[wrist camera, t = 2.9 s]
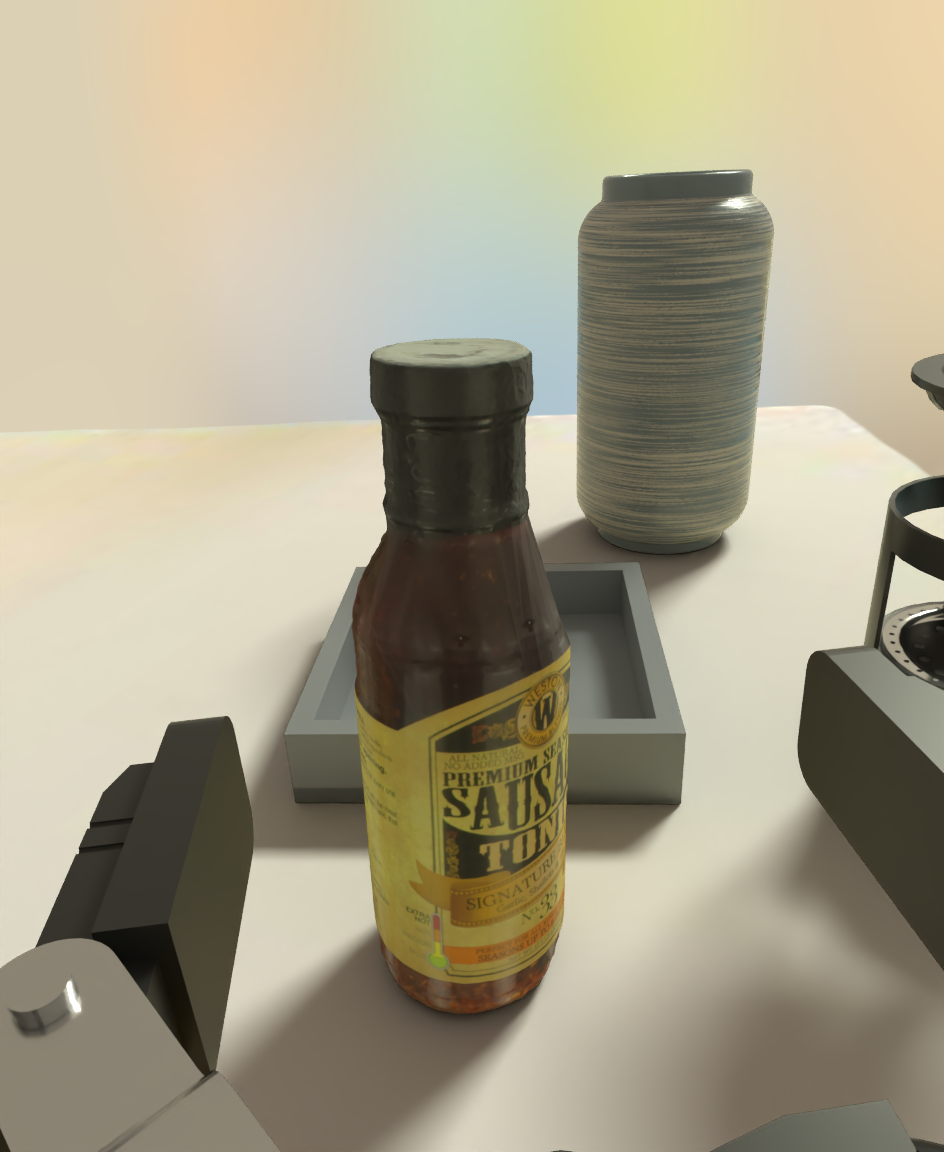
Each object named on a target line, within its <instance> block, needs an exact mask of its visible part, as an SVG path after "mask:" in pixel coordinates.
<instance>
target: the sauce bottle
mask: <svg viewBox="0 0 944 1152" xmlns="http://www.w3.org/2000/svg"><path fill="white" fill-rule="evenodd" d="M370 377H371V378H370V381H371V384H370V395H371V396H370V397H371V403H372V404H373V406H374V408H375V410H376V412H377V413H378V415H379V417H380V419H381V424H382V437H383V438H382V442H383V466H384V470H385V483H384V484H385V488H386V494H385V497H384V500H383V507H384V511H385V514H386V520H387V531H386V533H385V534H383V536H382V538H381V542H380V544H379V547H378V548H377V549H376V551H375V553H374V554H373V556H372V557H371V560H370V562H369V564H368V565H367V567H366V568H365V570H364V572H363V574H362V578H361V579H360V581H359V585H358V587H357V593H356V597H355V601H354V604H353V609H352V618H353V621H352V626H351V627H352V631H353V639H354V647H355V654H356V669H357V676H356V680H355V687H354V692H355V701H356V712H357V723H358V734H359V745H360V756H361V767H362V777H363V788H364V800H365V811H366V823H367V835H368V847H369V858H370V869H371V880H372V890H373V902H374V910H375V919H376V924H377V928H378V931H379V934H380V942H381V950H382V954H383V956H384V958H385V960H386V964H387V965H388V967H389V970H390V972H391V973H392V975H393V977H394V979H395V981H396V982H397V983H398V985H399V987H400V988H402V989H404V990H405V991H406V992H407V994H408V995H409V996H411V997H412V998H414V999H416V1000H417V1001H419V1002H421V1003H422V1004H424V1005H426V1006H428V1007H430V1008H432V1009H435V1010H437V1011H442V1012H451V1013H453V1014H456V1013H460V1014H464V1013H468V1014H473V1013H479V1012H483V1011H487V1010H491V1009H497V1008H499V1007H502V1006H505V1005H508V1004H510V1003H512V1002H513V1001H515V1000H518V999H521V998H523V997H524V996H525V995H526V993H527V992H528V991H530V990H532V989H534V988H535V987H536V986H538V985H539V983H540V981H541V979H542V977H543V976H544V975H545V973H546V971H547V969H548V967H549V964H550V961H551V958H552V956H553V955H554V952H555V946H556V943H557V939H558V937H559V931H560V929H561V926H562V922H563V914H564V887H565V842H566V806H567V786H568V780H567V767H568V716H569V682H570V640H569V638H568V635H567V633H566V631H565V628H564V626H563V624H562V621H561V619H560V616H559V614H558V610H557V607H556V604H555V601H554V598H553V595H552V591H551V588H550V585H549V582H548V579H547V575H546V572H545V569H544V566H543V563H542V559H541V556H540V553H539V549H538V546H537V543H536V540H535V536H534V533H533V530H532V527H531V523H530V520H529V517H528V509H529V498H528V492H527V490H526V488H525V485H526V472H525V467H526V465H525V455H526V451H525V424H526V415H527V413H528V411H529V407H530V404H531V402H532V400H533V375H532V353H531V352H530V351H529V350H528V349H527V348H526V347H525V346H523V345H521V344H519V343H517V342H513V341H509V340H501V339H433V340H424V341H415V342H405V343H397V344H394V345H390V346H385V347H382V348H379V349H377V350H375V351H374V352H373V353H372V354H371V358H370Z"/></svg>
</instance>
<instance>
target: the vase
mask: <svg viewBox="0 0 944 1152" xmlns="http://www.w3.org/2000/svg"><path fill="white" fill-rule="evenodd" d="M752 180H753V173H752V172H751V170H713V171H691V172H670V173H650V174H633V175H618V176H608V177H605V179H604V180H603V193H602V200H601V202H600V203H599V204H598V205H596V206H595V207H594V208H593V209H592V210H591V211H590V212H589V213H588V215H587V216H586V218H585V219H584V221H583V223H582V226H581V228H580V231H579V236H578V359H577V361H578V363H577V366H578V367H577V373H578V374H577V498H578V503H579V505H580V507H581V509H582V511H583V512H584V514H585V516H586V517H587V518H588V520H589V521H591V522H592V523H593V524H594V525H595V526H596V527H597V529H598V532H599V534H600V535H601V537H603V538H604V539H605V540H606V541H608V542H609V543H611V544H613V545H616V546H618V547H621V548H624V549H627V550H632V551H636V552H643V553H652V554H677V553H686V552H692V551H696V550H700V549H703V548H706V547H708V546H710V545H712V544H713V543H715V542H716V541H717V540H718V539H719V538H720V537H721V535H722V532H723V531H725V530H726V529H728V528H729V527H730V526H731V525H732V524H733V523H734V522H735V521H736V520H737V519H738V518H739V517H740V515H741V514H742V512H743V510H744V508H745V506H746V504H747V500H748V493H749V483H750V472H751V462H752V452H753V441H754V431H755V421H756V411H757V399H758V390H759V389H758V388H759V379H760V369H761V359H762V349H763V339H764V328H765V318H766V308H767V297H768V287H769V276H770V266H771V256H772V246H773V236H774V228H773V223H772V219H771V216H770V214H769V212H768V210H767V208H766V207H765V206H764V205H763V203H762V202H761V201H760V200H759V199H757V198H756V197H754V196H753V195H752Z"/></svg>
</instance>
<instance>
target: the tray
mask: <svg viewBox="0 0 944 1152" xmlns="http://www.w3.org/2000/svg"><path fill="white" fill-rule="evenodd" d="M543 566H544V569H545V572H546V575H547V579H548V582H549V585H550V588H551V591H552V595H553V598H554V601H555V604H556V607H557V610H558V614H559V616H560V619H561V621H562V624H563V626H564V628H565V631H566V633H567V635H568V638H569V640H570V682H569V716H568V767H567V780H568V786H567V804H681V792H682V779H683V765H684V751H685V738H686V732H685V729H684V725H683V721H682V718H681V714H680V710H679V707H678V703H677V699H676V696H675V692H674V689H673V685H672V681H671V678H670V674H669V670H668V667H667V663H666V659H665V656H664V652H663V648H662V645H661V641H660V637H659V634H658V630H657V627H656V623H655V619H654V616H653V612H652V608H651V605H650V601H649V597H648V594H647V590H646V586H645V583H644V579H643V575H642V572H641V568H640V565H639V562H621V563H564V564H543ZM365 568H366V567H356V569H355V571H354V574H353V576H352V578H351V581H350V583H349V585H348V588H347V590H346V592H345V594H344V597H343V599H342V601H341V604H340V606H339V608H338V611H337V613H336V615H335V618H334V620H333V622H332V624H331V627H330V629H329V631H328V634H327V636H326V638H325V641H324V643H323V645H322V648H321V650H320V652H319V654H318V657H317V659H316V661H315V664H314V666H313V668H312V671H311V673H310V675H309V678H308V680H307V682H306V684H305V687H304V689H303V691H302V694H301V696H300V698H299V701H298V703H297V705H296V707H295V710H294V712H293V714H292V717H291V719H290V721H289V724H288V726H287V728H286V731H285V733H284V738H285V744H286V750H287V756H288V761H289V767H290V773H291V779H292V784H293V790H294V796H295V802H296V803H365V800H364V788H363V777H362V767H361V756H360V745H359V734H358V723H357V712H356V701H355V692H354V687H355V680H356V676H357V669H356V654H355V647H354V639H353V631H352V627H351V626H352V621H353V618H352V609H353V604H354V601H355V597H356V593H357V587H358V585H359V581H360V579H361V578H362V574H363V572H364V570H365Z"/></svg>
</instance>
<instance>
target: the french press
mask: <svg viewBox="0 0 944 1152" xmlns="http://www.w3.org/2000/svg"><path fill="white" fill-rule="evenodd" d="M911 378H912V381H913V382H914V383H915V384H916V385H918V386H919V387H920V388H922V389H924V390H926V392H927V394H928V397H929V399H930V400H931V401H932V403H934V405H935V406H936V407H937V408H938V409H940V410H944V354H939V355H935V356H931V357H928V358H925V359H922V360H920V361H918V362H917V363H915V365H914V366H913V367H912V372H911ZM939 507H944V475H942V476H933V477H928V478H923V479H919V480H915V481H912V482H910V483H907V484H905V485H902V486H901V487H899V488H898V489H897V490H895V491H894V492H893V493H892V495H891V497H890V499H889V504H888V510H887V515H886V521H885V527H884V533H883V538H882V544H881V550H880V556H879V561H878V567H877V573H876V579H875V584H874V590H873V596H872V602H871V607H870V613H869V619H868V625H867V630H866V636H865V642H864V646H865V645H868V646H872V647H874V648H876V649H877V650H878V651H879V652H880V653H881V654H883V655H884V656H885V657H886V658H887V659H888V660H889V661H890V662H891V663H893V664H894V665H895V666H896V667H897V668H898V669H899V670H900V671H901V672H902V673H904V674H905V675H906V676H915V677H917V678H919V679H921V680H923V681H925V682H927V683H929V684H931V685H933V686H935V687H937V688H939V689H941V690H943V691H944V602H928V603H922V604H915V605H910V606H907V607H903V608H900V609H897V610H895V611H893V612H891V613H889V614H887V615H886V616H884V615H885V610H886V604H887V599H888V593H889V588H890V583H891V577H892V572H893V566H894V561H895V555H897V556H898V557H899V558H901V559H902V560H903V561H905V562H906V563H908V564H910V565H912V566H913V567H915V568H917V569H918V570H920V571H922V572H925V573H927V574H929V575H931V576H934V577H936V578H938V579H941V580H943V581H944V540H943V539H941V538H938V537H936V536H933V535H931V534H929V533H927V532H925V531H923V530H921V529H919V528H918V527H916V526H914V525H913V524H911V523H910V522H909V521H907V520H906V519H905V518H903V517H905V516H907V515H909V514H911V513H914V512H918V511H922V510H926V509H932V508H939Z"/></svg>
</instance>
